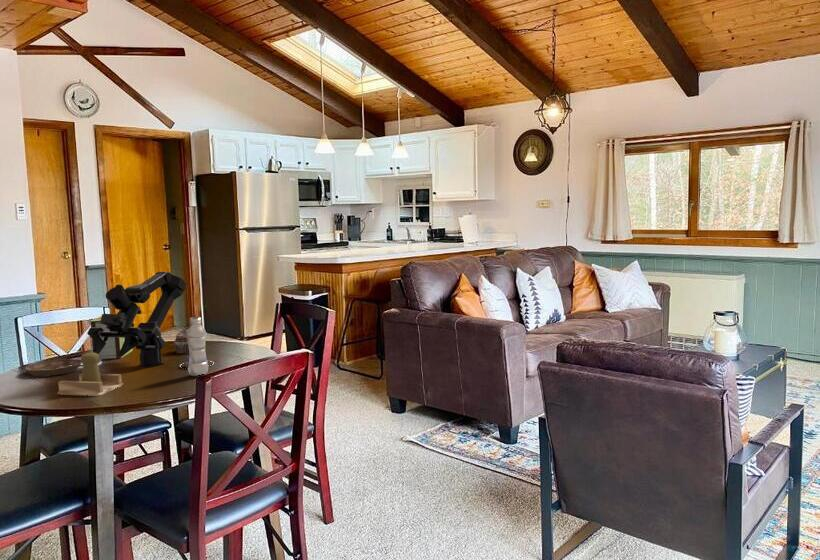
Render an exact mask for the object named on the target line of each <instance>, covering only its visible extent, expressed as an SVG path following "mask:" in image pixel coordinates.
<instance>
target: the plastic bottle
mask: <svg viewBox="0 0 820 560" xmlns="http://www.w3.org/2000/svg"><path fill="white" fill-rule="evenodd" d="M188 327H189V328H188V330H187V333H186V337H187V341H188V347H189V365H188V369H187V371H188V374H189V375H190V376H192V377H199V376H198V375H201V374H205V375H207V374H208V372H209V365H208V363H207V361H208V358H207V353H206V340H207V331H206V329H205V327H204V326H203V325H202V317H200V316H194V317H190V318H189V326H188ZM206 358H207V359H206ZM206 373H207V374H206Z"/></svg>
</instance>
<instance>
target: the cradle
mask: <svg viewBox="0 0 820 560" xmlns="http://www.w3.org/2000/svg"><path fill="white" fill-rule="evenodd" d="M100 376H101V381H102V382H90V381H82V373H79V374H78V377H79V378H78V379H79V380H60V381H58V391H57V395H58V394H60V395H61V396H62V395H64V396H87V395H88V397H89V396H90V397H92V396H93V397H94V396H95V397H99V395H100V396H102V395H104V394H107V393H109V392H111V391H113V390H115V388H116V389H118V388H120V387H122V385H123V386H124V382H123V381H122V374H121V373H100ZM117 387H118V388H117Z"/></svg>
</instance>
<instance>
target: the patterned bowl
mask: <svg viewBox="0 0 820 560" xmlns="http://www.w3.org/2000/svg"><path fill="white" fill-rule="evenodd" d="M206 359H207V363H208V361H210V362H213V364H212V365H210V366H213V365H214V364H215V362H214V361H212V360H208V357H206ZM184 363H186V366H188V365H189V354H187V357H186V362H184ZM184 363H181V364H179V368H182V367H181V365H182V364H184ZM210 366H209V367H210ZM186 368H187V367H186ZM182 369H183V368H182ZM187 370H188V368H187Z"/></svg>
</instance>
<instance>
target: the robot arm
mask: <svg viewBox="0 0 820 560" xmlns="http://www.w3.org/2000/svg"><path fill="white" fill-rule="evenodd" d="M186 288H187V283H186V281H184V279H183V278H181V277H179V276H177V275H174V274H172V273H171V272H170V271H157V272H155V274H153V275H152V276H151V277H148V279H146V280H144V281H143V282H141V283H139V284H133V285H130V286H127V287H126V288H124V285H122V284H115V287H112V288H110V289H109V290H107V291H106V293H105V298H106V300H107V301H108V302H109V303H110V304H111V306H112V307H113V308H114V309H115V310H118V312H117V313H102V314H101V316H102V317H101V316H100V317H101V321H100V323H101V324H105V325H107V326H106V328H107V329H109V331H104V330H103V329H102V328H101V327H92V328H91V327H90V328H89V329H88V331H87V333H86V334H87V335H88V336H89V337H90V338H91V340H92V339H93V340H94V353H97V354H99V353H100V352H101V350H102V349H103V347H104V346H105V345H106V343H105V342H106V341H107V340H108V337H117V338H125V341H124V343H123V345H122V348H121V350H120V352H119V357H122V356H123V355H125V354H126V353H127V352H128V351H130V350H131V349H133V350H134V348H135V349H136V350H140V353H139V363H138V365H139V366H142V367H146V368H151V367H155V366H161V365H164V364H165V362H163V361H162V352H161V351H162V349H163V348H165V345H166V341H165V340H164V338H163V337H162V331H161V326H162V325H163V323H164V321H165V319H166V316H167V315H168V313H169V311H170V309H171V307H172V305H173V303H174V302H175V300H177V299H178V298H180V297H181V296H182V295H183V294H184V292H185V291H186ZM158 289H160V290H161V291H160V292H161V296H160V297H159V299H158V301H157V303H156V305H155V306H154V309H153V310H152V312H151V314H150V316H149V317H148V319H147V321H145V322H140V323H139V324H138V325H137V326H136V327H135V323H134V321H135V319H136V317H137V315H142V310H141V306H139V305H137V304H145V303H147V301H148V300H149V299H150V298H151V294H152V293H153V292H155V291H156V290H158ZM125 356H126V355H125ZM122 358H123V357H122Z"/></svg>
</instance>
